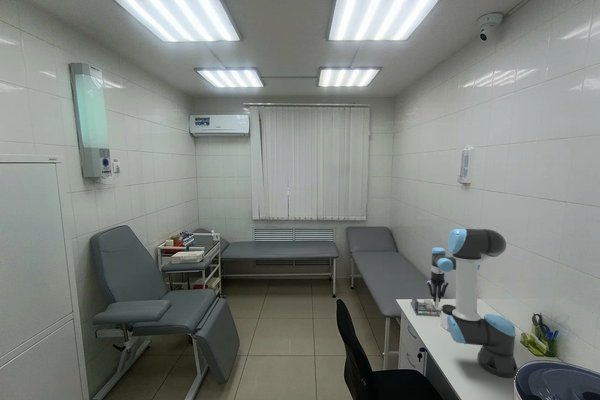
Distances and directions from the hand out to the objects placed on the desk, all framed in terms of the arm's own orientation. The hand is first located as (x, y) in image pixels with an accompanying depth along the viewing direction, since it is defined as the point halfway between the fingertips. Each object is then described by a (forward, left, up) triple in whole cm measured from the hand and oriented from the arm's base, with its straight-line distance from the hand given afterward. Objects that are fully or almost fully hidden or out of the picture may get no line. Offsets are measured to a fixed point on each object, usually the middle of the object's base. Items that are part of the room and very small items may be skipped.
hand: (436, 306), depth 173 cm
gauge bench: (0, +7, -3) cm, 8 cm away
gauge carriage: (-2, +5, -1) cm, 5 cm away
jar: (-18, -1, -3) cm, 18 cm away
